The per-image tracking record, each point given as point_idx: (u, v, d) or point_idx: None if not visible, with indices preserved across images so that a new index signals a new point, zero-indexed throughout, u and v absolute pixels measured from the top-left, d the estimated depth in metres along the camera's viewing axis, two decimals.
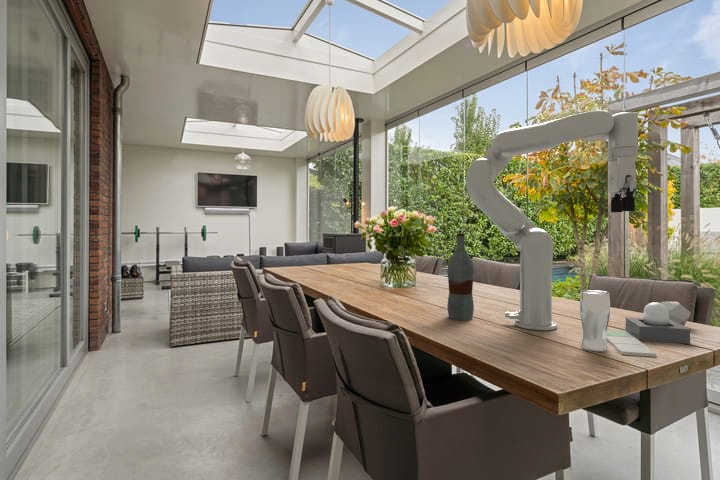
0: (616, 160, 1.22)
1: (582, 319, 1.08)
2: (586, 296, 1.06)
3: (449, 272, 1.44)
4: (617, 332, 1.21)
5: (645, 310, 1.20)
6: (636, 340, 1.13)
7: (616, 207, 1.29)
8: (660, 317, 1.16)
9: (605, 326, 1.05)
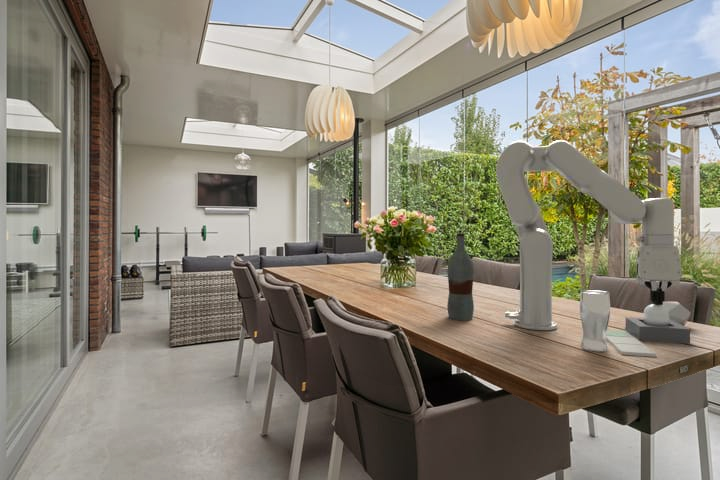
0: (673, 248, 1.15)
1: (582, 319, 1.08)
2: (586, 296, 1.06)
3: (449, 272, 1.44)
4: (617, 332, 1.21)
5: (645, 312, 1.20)
6: (636, 340, 1.13)
7: None
8: (660, 319, 1.16)
9: (605, 326, 1.05)
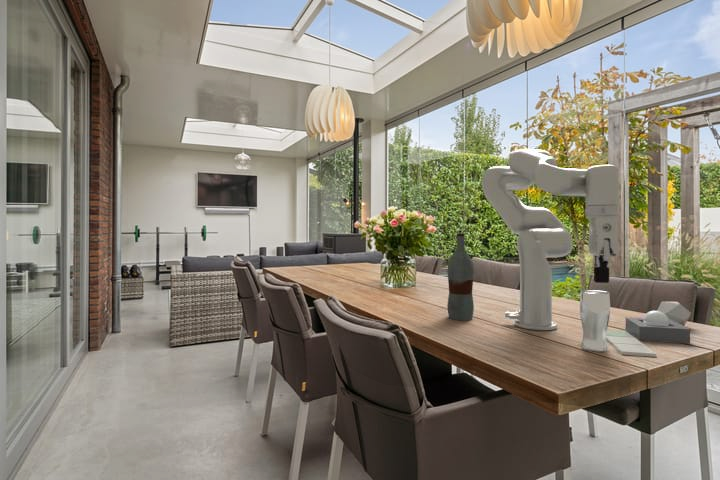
0: None
1: (582, 319, 1.08)
2: (586, 296, 1.06)
3: (449, 272, 1.44)
4: (617, 332, 1.21)
5: (645, 318, 1.20)
6: (636, 340, 1.13)
7: None
8: None
9: (605, 326, 1.05)
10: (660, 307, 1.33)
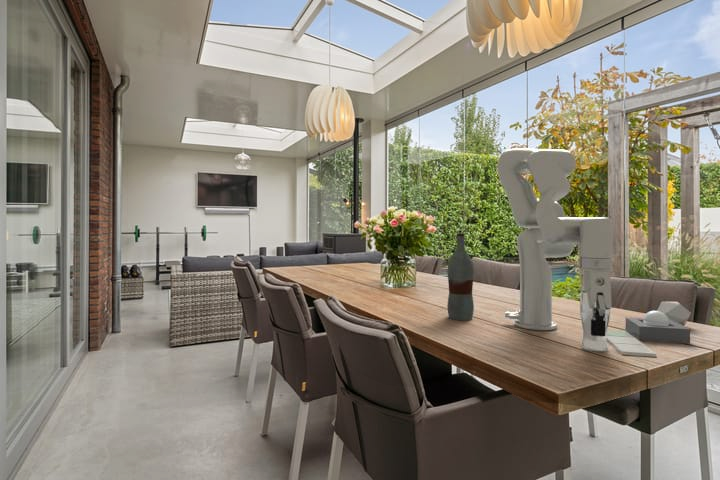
0: None
1: (582, 319, 1.08)
2: (586, 296, 1.06)
3: (449, 272, 1.44)
4: (617, 332, 1.21)
5: (645, 318, 1.20)
6: (636, 340, 1.13)
7: None
8: None
9: None
10: (660, 307, 1.33)
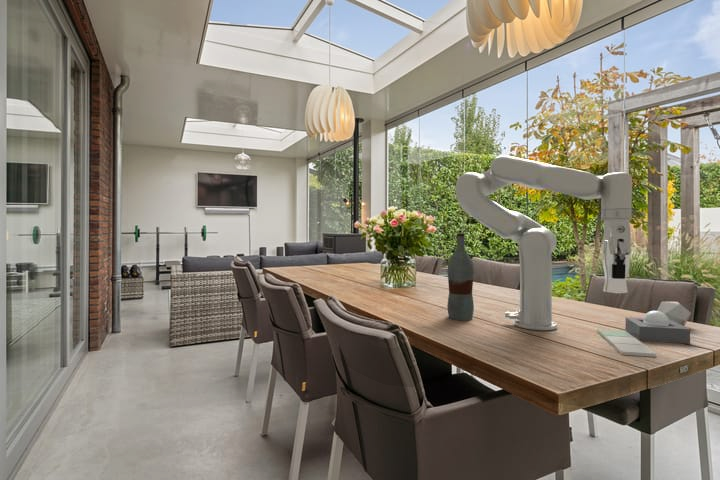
0: None
1: (604, 265, 1.20)
2: (608, 244, 1.18)
3: (449, 272, 1.44)
4: (617, 332, 1.21)
5: (645, 318, 1.20)
6: (636, 340, 1.13)
7: None
8: None
9: (625, 270, 1.17)
10: (660, 307, 1.33)
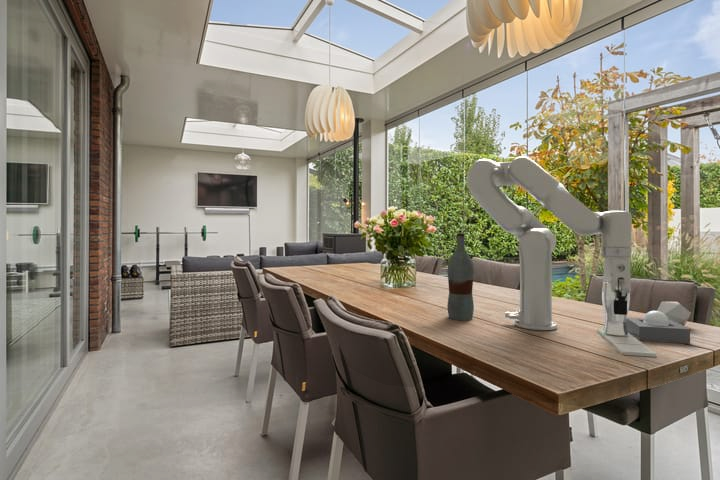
0: None
1: (604, 307, 1.20)
2: (608, 285, 1.18)
3: (449, 272, 1.44)
4: None
5: (645, 318, 1.20)
6: (636, 340, 1.13)
7: None
8: None
9: None
10: (660, 307, 1.33)
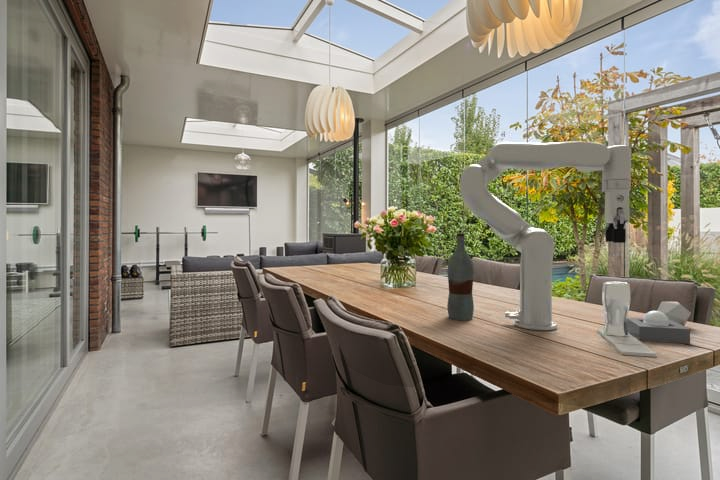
0: None
1: (604, 307, 1.19)
2: (608, 286, 1.18)
3: (449, 272, 1.44)
4: None
5: (645, 318, 1.20)
6: (636, 340, 1.13)
7: None
8: None
9: (626, 313, 1.17)
10: (660, 307, 1.33)
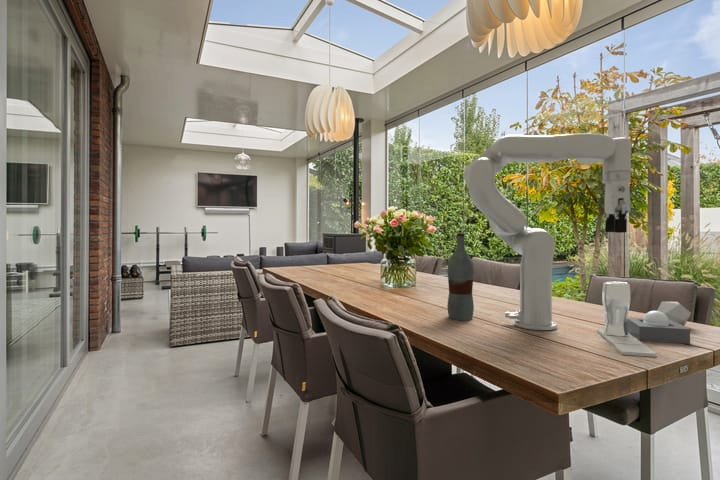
0: None
1: (604, 307, 1.19)
2: (608, 286, 1.18)
3: (449, 272, 1.44)
4: None
5: (645, 318, 1.20)
6: (636, 340, 1.13)
7: None
8: None
9: (626, 313, 1.17)
10: (660, 307, 1.33)
